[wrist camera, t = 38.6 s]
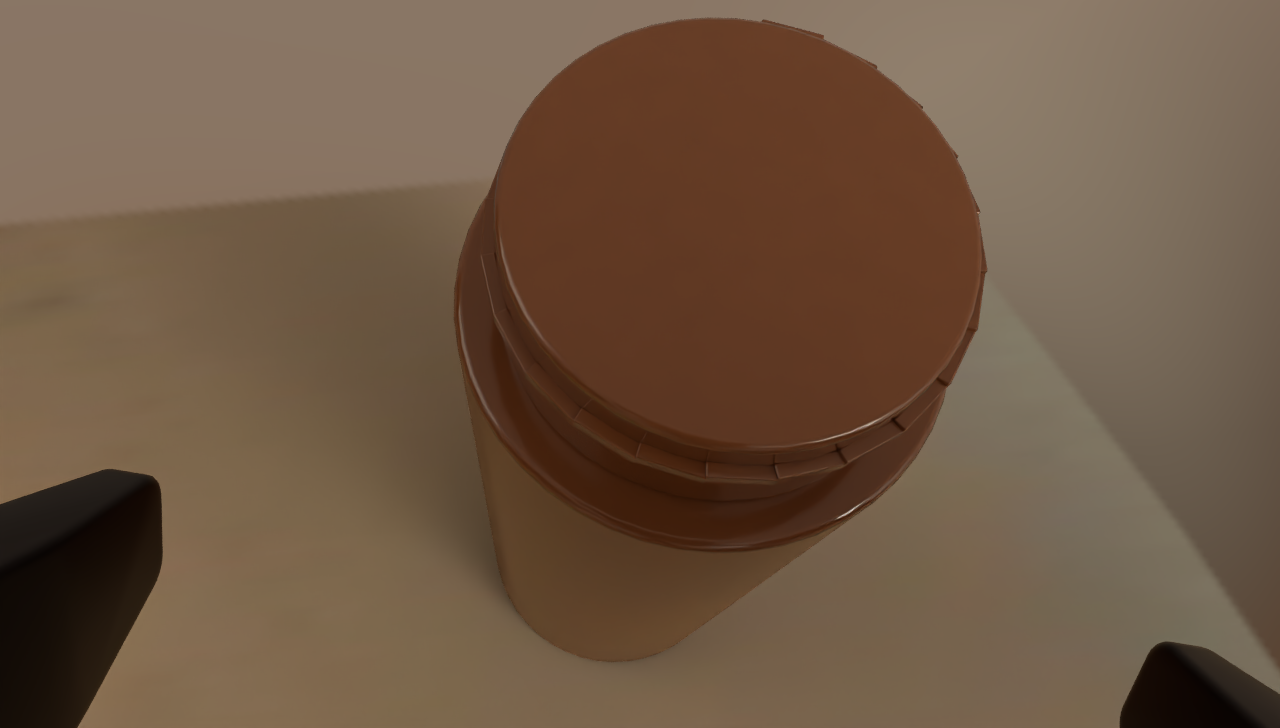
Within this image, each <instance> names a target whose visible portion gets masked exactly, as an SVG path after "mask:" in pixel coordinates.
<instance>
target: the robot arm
mask: <svg viewBox="0 0 1280 728" xmlns="http://www.w3.org/2000/svg"><path fill="white" fill-rule="evenodd" d="M162 556H163V547H162V503H161V489H160V486H159V483H158V482H157V480H156V479H155V478H154V477H153V476H150V475H145V474H139V473H133V472H127V471H121V470H115V469H105V470H101V471H98V472H95V473H92V474H89V475H86V476H83V477H80V478H77V479H74V480H71V481H68V482H65V483H62V484H60V485H57V486H54V487H51V488H48V489H45V490H42V491H39V492H36V493H33V494H30V495H27V496H24V497H21V498H18V499H15V500H12V501H9V502H6V503H3V504H0V728H77V727H78V726H79V724H80V722H81V720H82V719H83V717H84V715H85V713H86V712H87V710H88V708H89V706H90V704H91V703H92V701H93V699H94V697H95V695H96V693H97V691H98V689H99V688H100V686H101V684H102V682H103V680H104V678H105V676H106V675H107V673H108V671H109V669H110V667H111V665H112V663H113V662H114V660H115V658H116V656H117V654H118V652H119V650H120V649H121V647H122V645H123V643H124V641H125V639H126V637H127V636H128V634H129V632H130V630H131V628H132V626H133V624H134V622H135V621H136V619H137V617H138V615H139V613H140V611H141V609H142V608H143V606H144V604H145V602H146V600H147V598H148V596H149V595H150V593H151V591H152V589H153V587H154V585H155V583H156V581H157V578H158V576H159V573H160V569H161V565H162ZM1120 728H1280V694H1278V693H1277V692H1275V691H1273V690H1272V689H1270V688H1269V687H1267V686H1266V685H1264V684H1263V683H1261V682H1259V681H1258V680H1256V679H1255V678H1253V677H1252V676H1250V675H1249V674H1247V673H1245V672H1244V671H1242V670H1241V669H1239V668H1238V667H1236V666H1235V665H1233V664H1231V663H1230V662H1228V661H1227V660H1225V659H1224V658H1222V657H1220V656H1219V655H1217V654H1216V653H1214V652H1213V651H1211V650H1209V649H1206V648H1203V647H1199V646H1193V645H1186V644H1180V643H1174V642H1162V643H1159V644H1157V645H1155V646H1154V647H1153V648H1152V649H1151V650H1150V652H1149V654H1148V655H1147V657H1146V660H1145V662H1144V664H1143V666H1142V668H1141V670H1140V672H1139V674H1138V676H1137V678H1136V680H1135V682H1134V685H1133V687H1132V689H1131V691H1130V693H1129V695H1128V697H1127V699H1126V701H1125V703H1124V705H1123V708H1122V711H1121V716H1120Z"/></svg>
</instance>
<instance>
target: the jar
mask: <svg viewBox="0 0 1280 728" xmlns="http://www.w3.org/2000/svg"><path fill="white" fill-rule="evenodd" d="M922 109H923V107H922V106H921V105H920V104H918V102H916V101H915V100H914V99H912V98H911V97H910V96H909V95H907V94H906V93H905V92H904V91H903V90H902V89H901V88H900V87H899V86H898V85H897V84H896V83H894V82H893V81H892V80H890V79H889V78H888V77H886V76H885V75H884V74H882V73H881V72H880V71H878V70H877V66H876V65H874V64H872V63H870V62H868V61H866V60H864V59H862V58H860V57H858V56H856V55H854V54H852V53H850V52H848V51H846V50H844V49H842V48H840V47H838V46H836V45H834V44H832V43H830V42H828V41H826V40H824V36H823V35H821V34H817V33H814V32H810V31H806V30H802V29H798V28H794V27H791V26H787V25H783V24H779V23H775V22H772V21H768V20H762V22H758V21H752V20H744V19H737V18H735V19H734V18H699V19H698V18H697V19H686V20H685V19H684V20H676V21H671V22H666V23H660V24H655V25H651V26H647V27H644V28H641V29H638V30H635V31H632V32H629V33H625V34H623V35H621V36H618V37H616V38H614V39H612V40H610V41H607V42H605V43H603V44H601V45H599V46H597V47H595V48H594V49H592V50H591V51H589V52H587V53H586V54H584V55H582V56H581V57H579V58H578V59H576V60H575V61H573V62H572V63H571V64H570V65H569V66H567V67H566V68H565V69H564V70H562V71H561V72H560V73H559V74H558V75H556V76H555V77H554V78H553V79H552V80H551V81H550V82H549V84H548V85H547V86H546V87H545V88H544V89H543V90H542V91H541V92H540V93H539V94H538V95H537V96H536V98H535V99H534V100H533V101H532V103H531V104H530V106H529V107H528V109H527V110H526V112H525V113H524V114H523V116H522V117H521V119H520V120H519V122H518V124H517V126H516V128H515V130H514V132H513V134H512V136H511V138H510V140H509V142H508V144H507V146H506V149H505V152H504V154H503V157H502V159H501V162H500V165H499V167H498V170H497V172H496V175H495V177H494V180H493V183H492V185H491V188H490V190H489V193H488V195H487V196H486V198H485V199H484V201H483V202H482V203H481V205H480V207H479V209H478V211H477V213H476V216H475V218H474V220H473V222H472V224H471V226H470V228H469V230H468V233H467V236H466V239H465V242H464V245H463V248H462V252H461V255H460V258H459V263H458V269H457V276H456V282H455V288H454V323H455V331H456V338H457V346H458V352H459V358H460V363H461V369H462V374H463V380H464V385H465V391H466V396H467V401H468V407H469V412H470V418H471V423H472V429H473V434H474V440H475V445H476V451H477V456H478V461H479V467H480V472H481V478H482V483H483V489H484V494H485V500H486V505H487V510H488V516H489V521H490V527H491V532H492V538H493V543H494V549H495V554H496V560H497V565H498V569H499V573H500V577H501V580H502V583H503V586H504V588H505V590H506V593H507V595H508V597H509V599H510V600H511V602H512V604H513V606H514V607H515V609H516V611H517V612H518V613H519V614H520V616H521V617H522V618H523V619H524V621H525V622H526V623H527V624H528V625H529V626H530V627H531V628H532V629H533V630H534V631H535V632H536V633H537V634H538V635H540V636H541V637H543V638H544V639H545V640H547V641H548V642H549V643H551V644H552V645H554V646H556V647H558V648H560V649H562V650H564V651H566V652H568V653H571V654H574V655H576V656H579V657H582V658H587V659H591V660H596V661H606V662H622V661H632V660H637V659H642V658H646V657H649V656H652V655H655V654H658V653H660V652H662V651H664V650H666V649H668V648H670V647H672V646H674V645H675V644H677V643H678V642H680V641H681V640H683V639H684V638H686V637H687V636H689V635H690V634H691V633H693V632H694V631H696V630H697V629H698V628H700V627H701V626H702V625H704V624H705V623H707V622H708V621H709V620H711V619H712V618H714V617H715V616H716V615H718V614H719V613H721V612H722V611H723V610H725V609H726V608H728V607H729V606H730V605H732V604H733V603H734V602H736V601H737V600H739V599H740V598H741V597H743V596H744V595H746V594H747V593H748V592H750V591H751V590H753V589H754V588H755V587H757V586H758V585H760V584H761V583H762V582H764V581H765V580H766V579H768V578H769V577H771V576H772V575H773V574H775V573H776V572H778V571H779V570H780V569H782V568H783V567H785V566H786V565H787V564H789V563H790V562H792V561H793V560H794V559H796V558H797V557H798V556H800V555H801V554H803V553H804V552H805V551H807V550H808V549H810V548H811V547H812V546H814V545H815V544H817V543H818V542H819V541H821V540H822V539H824V538H825V537H826V536H828V535H829V534H830V533H832V532H833V531H835V530H836V529H837V528H839V527H840V526H842V525H843V524H844V523H846V522H847V521H849V520H850V519H851V518H853V517H854V516H856V515H857V514H858V513H860V512H861V511H862V510H864V509H865V508H867V507H868V506H869V505H871V504H872V503H874V502H875V501H876V500H877V499H878V498H879V497H880V496H881V495H882V494H883V493H884V492H886V491H887V490H888V489H889V488H890V487H891V486H892V485H893V484H894V483H895V482H896V481H897V480H898V479H899V478H900V477H901V475H902V474H903V473H904V472H905V470H906V469H907V468H908V467H909V466H910V464H911V463H912V462H913V461H914V459H915V458H916V457H917V455H918V453H919V452H920V450H921V448H922V447H923V445H924V443H925V441H926V440H927V438H928V436H929V435H930V433H931V431H932V429H933V427H934V424H935V422H936V419H937V417H938V414H939V412H940V409H941V407H942V404H943V401H944V397H945V392H946V388H947V387H948V386H949V385H950V384H951V382H952V380H953V378H954V376H955V374H956V372H957V370H958V368H959V365H960V363H961V361H962V359H963V357H964V355H965V353H966V351H967V349H968V347H969V344H970V342H971V340H972V338H973V336H974V334H975V332H976V331H977V330H978V324H979V316H980V308H981V301H982V293H983V286H984V278H985V273H986V272H987V265H986V259H985V252H984V248H983V241H982V235H981V228H980V222H979V216H978V215H979V213H980V210H979V207H978V205H977V203H976V201H975V199H974V197H973V195H972V192H971V190H970V188H969V185H968V182H967V180H966V177H965V174H964V172H963V170H962V168H961V166H960V164H959V162H958V160H957V158H958V155H957V154H956V153H955V152H954V150H953V149H952V148H951V147H950V145H949V144H948V143H947V141H946V140H945V138H944V137H943V135H942V134H941V132H940V131H939V129H938V128H937V126H936V125H935V124H934V123H933V122H932V120H931V119H930V118H929V117H928V116H927V114H926V113H925V112H924V111H923V110H922Z"/></svg>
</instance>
